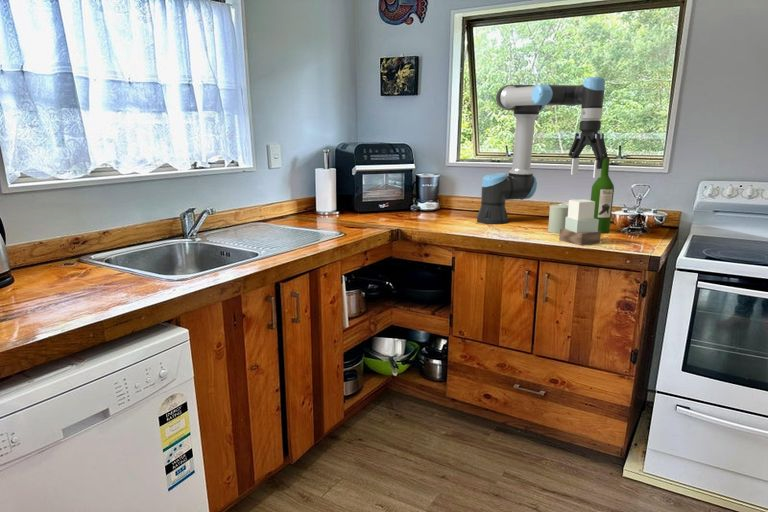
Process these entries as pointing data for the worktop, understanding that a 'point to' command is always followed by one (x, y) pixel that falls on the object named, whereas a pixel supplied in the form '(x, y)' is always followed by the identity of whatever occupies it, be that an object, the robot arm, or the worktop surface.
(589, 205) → the cube
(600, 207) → the wine bottle
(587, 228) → the top block
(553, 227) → the can
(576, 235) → the base block
